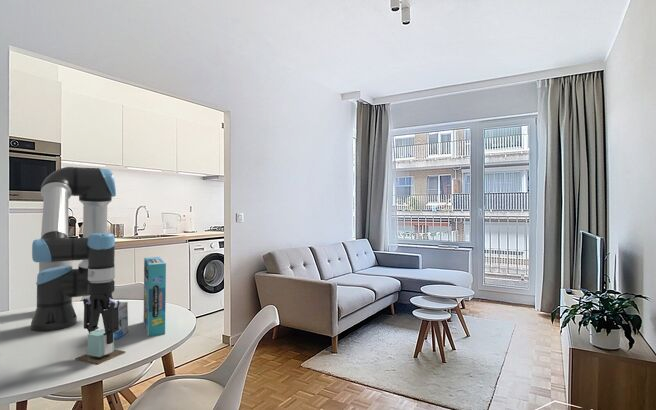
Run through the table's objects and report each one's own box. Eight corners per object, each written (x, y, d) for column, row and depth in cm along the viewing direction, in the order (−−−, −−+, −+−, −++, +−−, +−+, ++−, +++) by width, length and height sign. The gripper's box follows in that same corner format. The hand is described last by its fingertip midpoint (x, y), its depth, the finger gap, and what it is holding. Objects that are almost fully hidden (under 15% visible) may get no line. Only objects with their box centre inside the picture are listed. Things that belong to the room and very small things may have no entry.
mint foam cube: (87, 354, 121) (87, 334, 121) (102, 349, 126) (102, 329, 126) (99, 357, 119) (99, 336, 119) (113, 351, 124) (113, 331, 124)
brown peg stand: (75, 359, 120) (75, 337, 120) (103, 348, 129) (103, 328, 129) (97, 364, 116) (98, 341, 116) (125, 352, 126) (125, 331, 126)
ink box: (118, 339, 138) (118, 307, 138) (103, 339, 138) (103, 307, 138) (128, 331, 146) (128, 301, 147) (114, 332, 146) (115, 301, 146)
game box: (142, 322, 158) (143, 257, 158) (159, 319, 162) (159, 256, 162) (147, 337, 141) (147, 264, 141) (165, 334, 144) (166, 263, 144)
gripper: (70, 280, 123) (69, 352, 122) (111, 285, 116) (111, 360, 116) (91, 276, 130) (91, 344, 130) (132, 280, 123) (131, 351, 123)
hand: (100, 351), depth 123 cm, fingers open, 5 cm apart
